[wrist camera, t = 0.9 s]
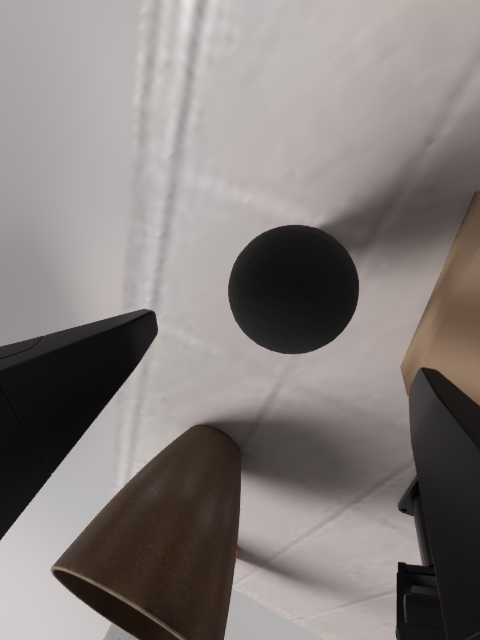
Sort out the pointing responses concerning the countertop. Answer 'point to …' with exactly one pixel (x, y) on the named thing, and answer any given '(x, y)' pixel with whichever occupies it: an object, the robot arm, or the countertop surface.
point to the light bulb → (293, 289)
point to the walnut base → (453, 315)
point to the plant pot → (165, 544)
